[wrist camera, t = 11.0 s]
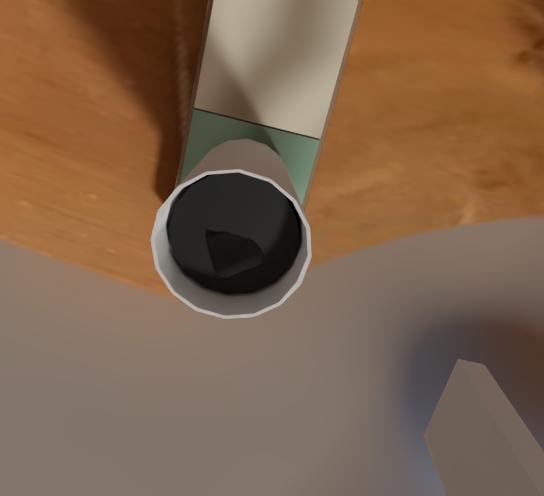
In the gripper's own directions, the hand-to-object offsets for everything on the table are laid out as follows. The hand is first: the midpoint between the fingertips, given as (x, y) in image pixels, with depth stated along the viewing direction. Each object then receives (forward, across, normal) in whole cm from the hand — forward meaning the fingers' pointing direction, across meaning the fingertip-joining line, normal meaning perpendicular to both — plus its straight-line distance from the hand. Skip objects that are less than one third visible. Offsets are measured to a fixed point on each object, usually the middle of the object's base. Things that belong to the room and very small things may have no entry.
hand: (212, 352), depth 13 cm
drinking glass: (+18, 0, 0) cm, 18 cm away
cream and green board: (+20, 0, +4) cm, 21 cm away
